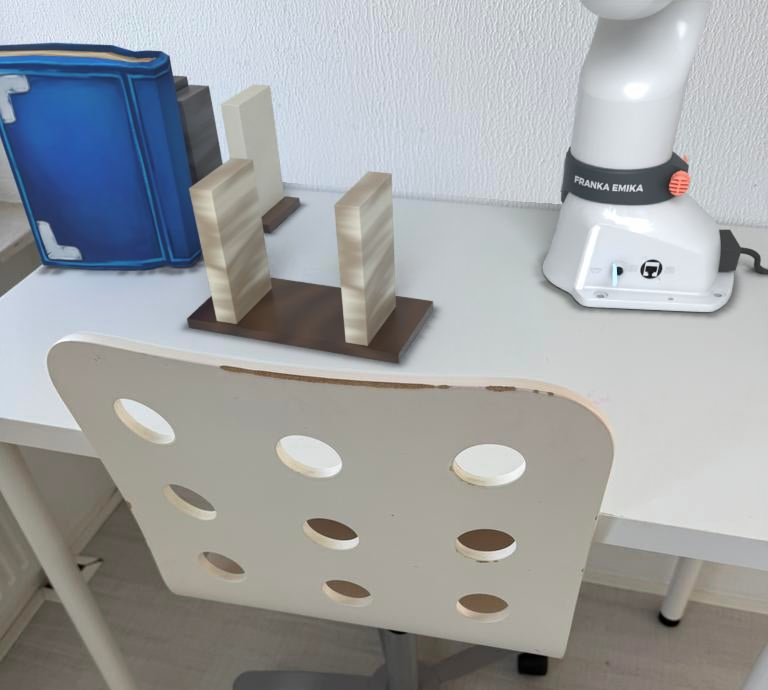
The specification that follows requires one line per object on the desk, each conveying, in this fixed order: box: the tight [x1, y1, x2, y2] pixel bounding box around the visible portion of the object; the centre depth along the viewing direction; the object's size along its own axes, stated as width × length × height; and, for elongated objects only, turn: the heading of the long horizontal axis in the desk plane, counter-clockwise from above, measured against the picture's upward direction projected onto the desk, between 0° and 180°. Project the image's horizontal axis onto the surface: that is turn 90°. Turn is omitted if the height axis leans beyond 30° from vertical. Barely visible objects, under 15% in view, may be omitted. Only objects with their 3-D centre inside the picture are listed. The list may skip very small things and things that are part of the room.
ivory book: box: [220, 83, 285, 217], centre depth 106 cm, size 3×9×15 cm, turn 159°
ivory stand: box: [186, 158, 434, 365], centre depth 84 cm, size 26×12×16 cm, turn 69°
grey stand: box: [173, 75, 301, 234], centre depth 107 cm, size 17×10×17 cm, turn 69°
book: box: [0, 42, 203, 271], centre depth 94 cm, size 22×7×25 cm, turn 84°
